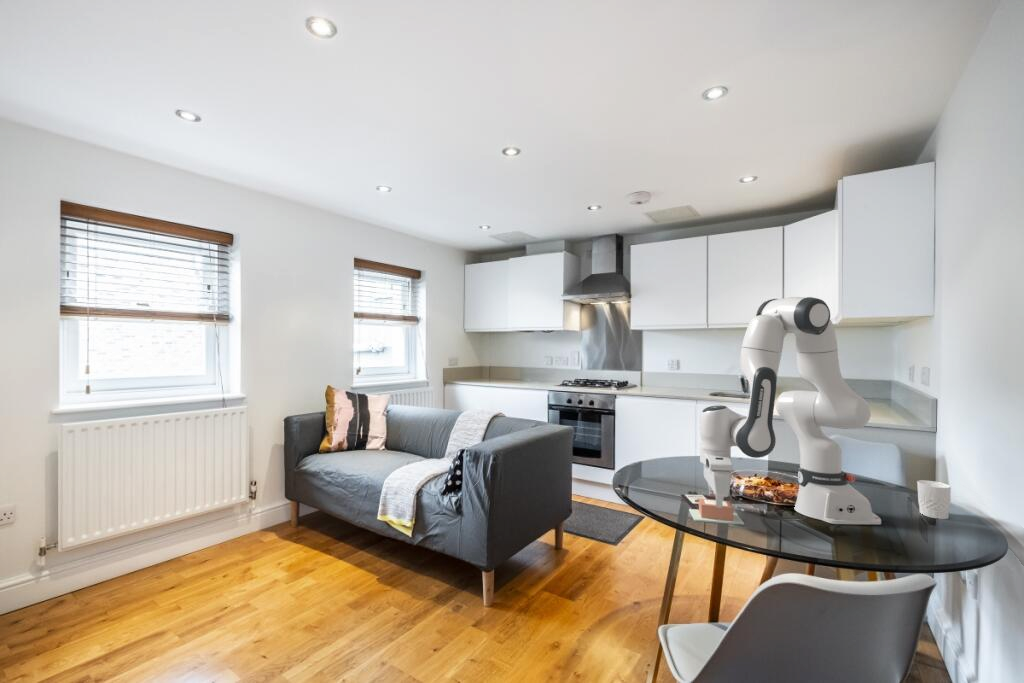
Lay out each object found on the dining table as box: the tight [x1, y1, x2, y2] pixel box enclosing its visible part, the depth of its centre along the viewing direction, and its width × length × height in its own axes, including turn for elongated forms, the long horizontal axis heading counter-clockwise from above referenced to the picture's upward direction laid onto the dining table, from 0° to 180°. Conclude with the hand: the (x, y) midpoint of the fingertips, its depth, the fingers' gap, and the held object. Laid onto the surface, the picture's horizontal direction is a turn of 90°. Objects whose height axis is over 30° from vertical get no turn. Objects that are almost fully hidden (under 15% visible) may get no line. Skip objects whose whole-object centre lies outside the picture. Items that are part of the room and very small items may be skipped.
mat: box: [688, 508, 745, 526], centre depth 142 cm, size 14×9×1 cm, turn 79°
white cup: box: [916, 479, 952, 520], centre depth 145 cm, size 8×8×10 cm
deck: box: [699, 498, 734, 521], centre depth 142 cm, size 9×6×4 cm, turn 75°
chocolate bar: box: [680, 494, 711, 510], centre depth 153 cm, size 9×1×18 cm
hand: (715, 501), depth 143 cm, fingers open, 8 cm apart
